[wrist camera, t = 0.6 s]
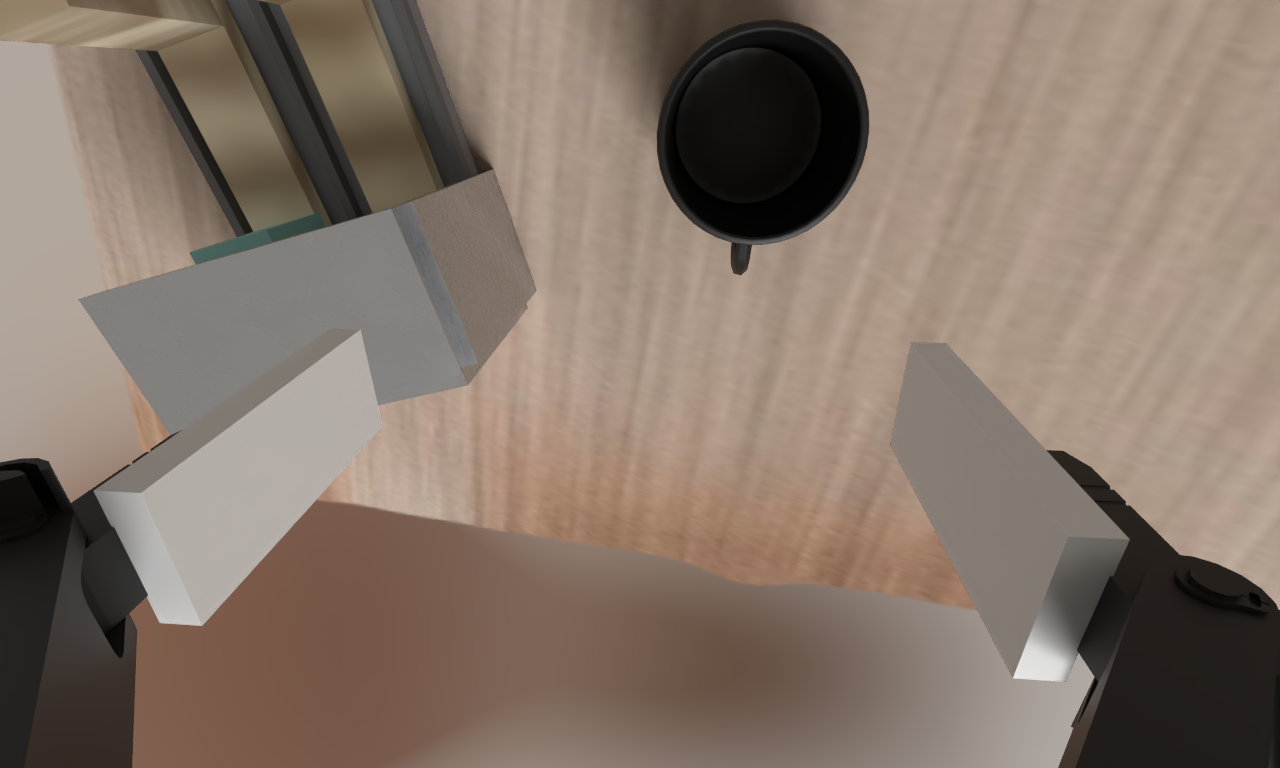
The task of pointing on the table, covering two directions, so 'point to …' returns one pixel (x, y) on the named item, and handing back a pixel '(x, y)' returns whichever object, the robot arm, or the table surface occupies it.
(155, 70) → the lane board
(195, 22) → the wooden l-shaped bracket
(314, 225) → the block
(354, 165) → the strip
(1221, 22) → the table surface
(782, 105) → the mug
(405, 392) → the grey open box shape
